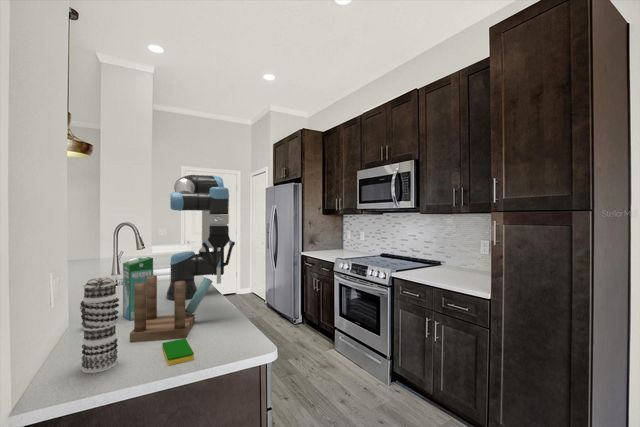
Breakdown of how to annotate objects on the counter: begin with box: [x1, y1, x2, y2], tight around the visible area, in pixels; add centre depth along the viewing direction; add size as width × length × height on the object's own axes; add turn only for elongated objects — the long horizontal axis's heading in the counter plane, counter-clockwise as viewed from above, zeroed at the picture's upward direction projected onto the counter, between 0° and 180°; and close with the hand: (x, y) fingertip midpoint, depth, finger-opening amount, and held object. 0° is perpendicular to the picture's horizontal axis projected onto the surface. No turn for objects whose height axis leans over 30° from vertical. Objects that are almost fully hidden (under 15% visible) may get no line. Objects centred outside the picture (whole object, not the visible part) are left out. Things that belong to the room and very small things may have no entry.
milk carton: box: [122, 255, 154, 322], centre depth 137 cm, size 9×9×25 cm
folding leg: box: [185, 277, 213, 314], centre depth 128 cm, size 4×4×14 cm
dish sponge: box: [161, 338, 195, 366], centre depth 100 cm, size 7×14×2 cm, turn 33°
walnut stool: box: [129, 274, 196, 343], centre depth 120 cm, size 19×18×19 cm
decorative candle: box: [79, 277, 120, 374], centre depth 92 cm, size 9×9×25 cm
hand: (218, 282), depth 130 cm, fingers closed
